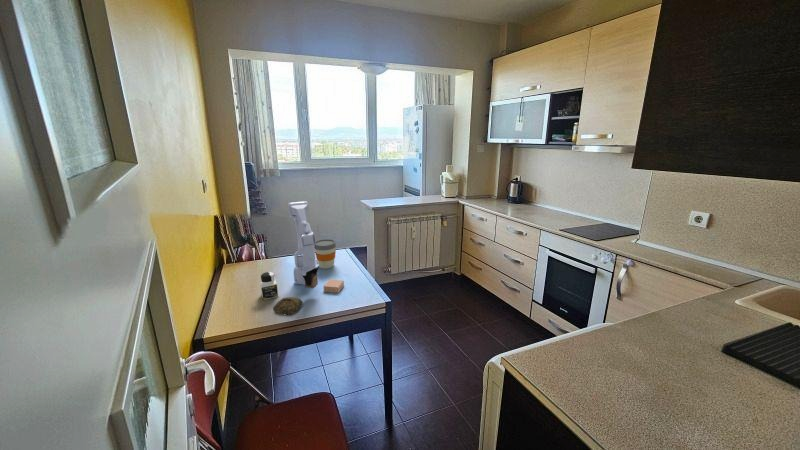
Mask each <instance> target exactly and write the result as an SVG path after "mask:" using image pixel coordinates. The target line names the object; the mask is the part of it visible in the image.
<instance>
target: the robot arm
mask: <svg viewBox="0 0 800 450" xmlns="http://www.w3.org/2000/svg"><path fill="white" fill-rule="evenodd" d="M287 208H288V215H289V218H290V219H292V220H293V221H294V224H295V230H296V238H297V245H298V249H297V250H296V251H295V252H294V254H293V255H294V264H295V265H294V266H295V267H294V269H293V279H294V282H293V284H294V285H304V286H305V282H306V284H307V285H309V286H311V283H312V275H313V274H317V275H318V272H319V269H320V267H319V264H318V260H317V259H316V253H315V252H316V250H315V242H316V236H315V233H314V232H313V231H312V228H311V224H310V222H308V221H307V217H308V215H309V211H310V209H309V203H308V201H307V200H305V201H295V202H288V203H287Z"/></svg>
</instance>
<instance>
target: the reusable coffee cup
mask: <svg viewBox="0 0 800 450" xmlns="http://www.w3.org/2000/svg"><path fill="white" fill-rule="evenodd" d="M336 247H337V244H336V241H335V240H333V239H325V238H324V239H319V240H315V244H314V249H315V259H316V260H318V264H317V265H318V266H319V269H331V268H333V267H334V266H335V259H336V252H337V251H336Z"/></svg>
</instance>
